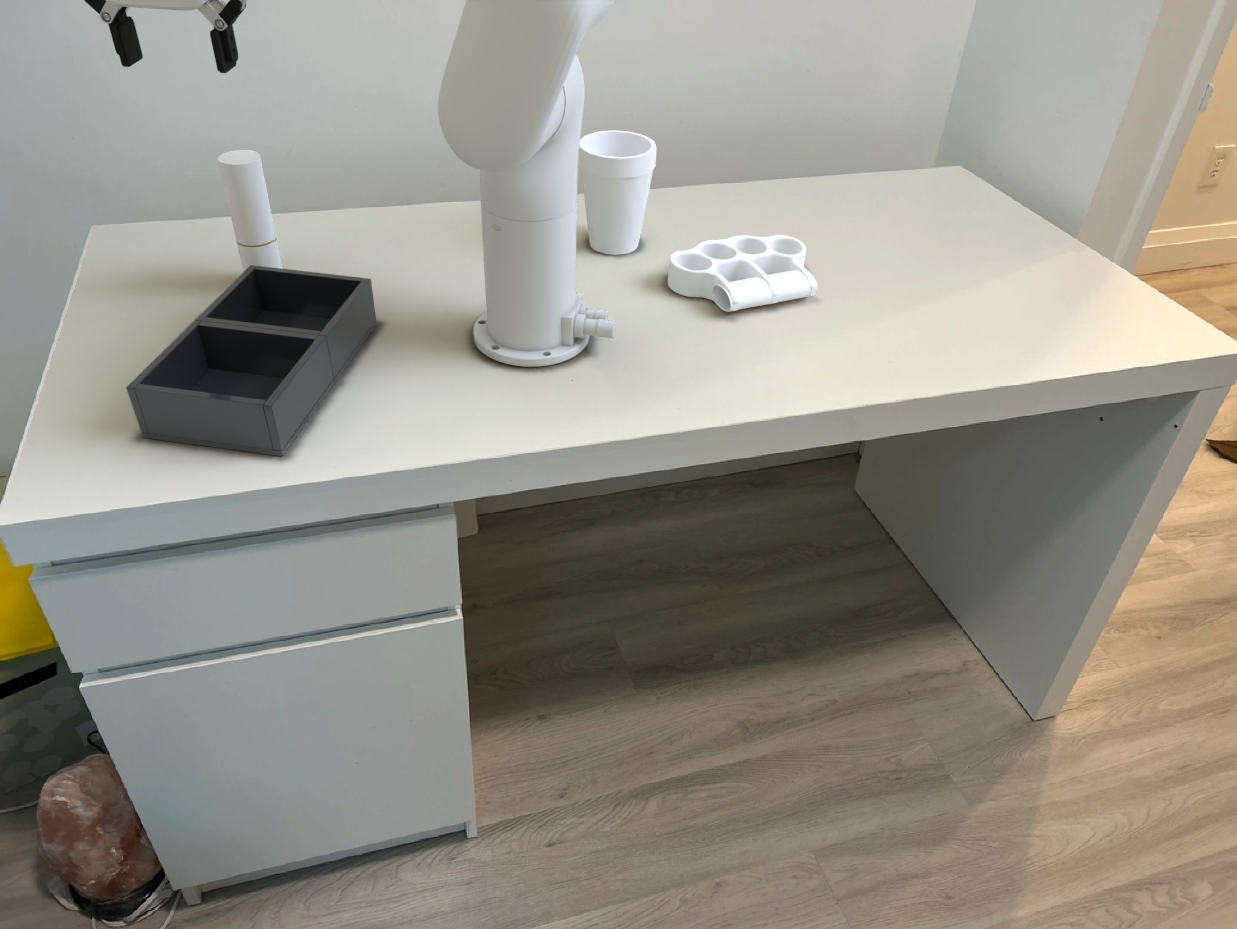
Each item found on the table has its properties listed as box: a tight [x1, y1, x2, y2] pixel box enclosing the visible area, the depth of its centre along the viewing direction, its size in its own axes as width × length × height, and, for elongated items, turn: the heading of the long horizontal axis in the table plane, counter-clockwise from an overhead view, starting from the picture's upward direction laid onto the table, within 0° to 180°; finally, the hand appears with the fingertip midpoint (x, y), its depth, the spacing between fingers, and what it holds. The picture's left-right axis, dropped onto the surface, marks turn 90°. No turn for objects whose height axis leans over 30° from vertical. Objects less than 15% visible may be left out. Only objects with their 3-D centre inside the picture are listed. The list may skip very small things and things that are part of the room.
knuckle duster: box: [667, 234, 819, 313], centre depth 116 cm, size 3×18×15 cm
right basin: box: [194, 265, 378, 385], centre depth 100 cm, size 14×12×6 cm
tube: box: [217, 149, 283, 273], centre depth 107 cm, size 4×4×15 cm
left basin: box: [125, 320, 335, 457], centre depth 91 cm, size 14×12×6 cm
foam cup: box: [578, 129, 658, 256], centre depth 120 cm, size 10×9×13 cm
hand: (180, 65), depth 96 cm, fingers open, 9 cm apart
